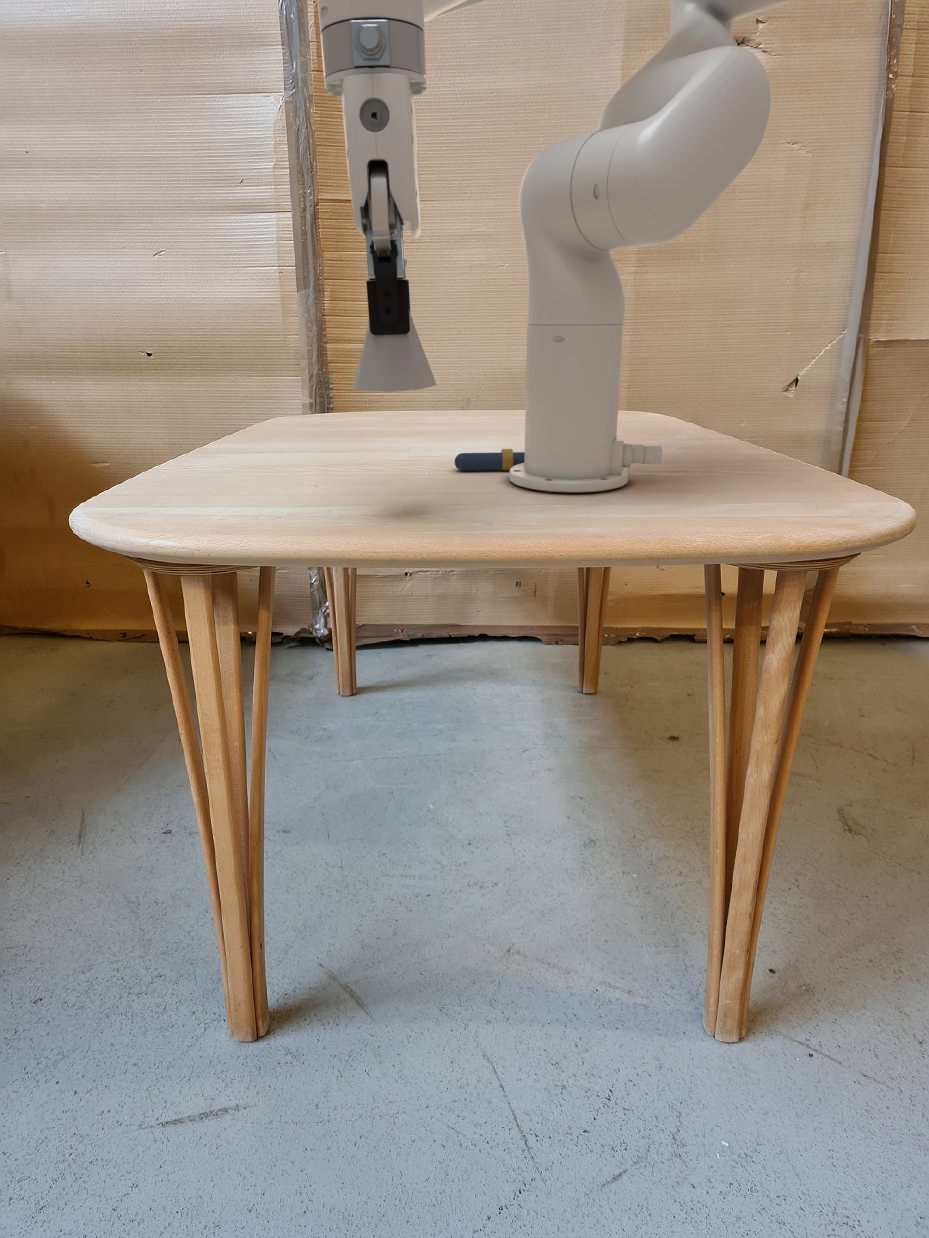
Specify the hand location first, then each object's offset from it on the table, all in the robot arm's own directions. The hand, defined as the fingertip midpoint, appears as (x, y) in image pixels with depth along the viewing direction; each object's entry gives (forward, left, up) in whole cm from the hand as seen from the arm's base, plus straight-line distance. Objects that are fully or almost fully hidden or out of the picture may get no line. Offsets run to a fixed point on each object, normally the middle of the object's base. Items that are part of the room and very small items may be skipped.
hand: (391, 331), depth 63 cm
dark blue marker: (-12, -19, -16) cm, 27 cm away
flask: (0, 0, -5) cm, 5 cm away
